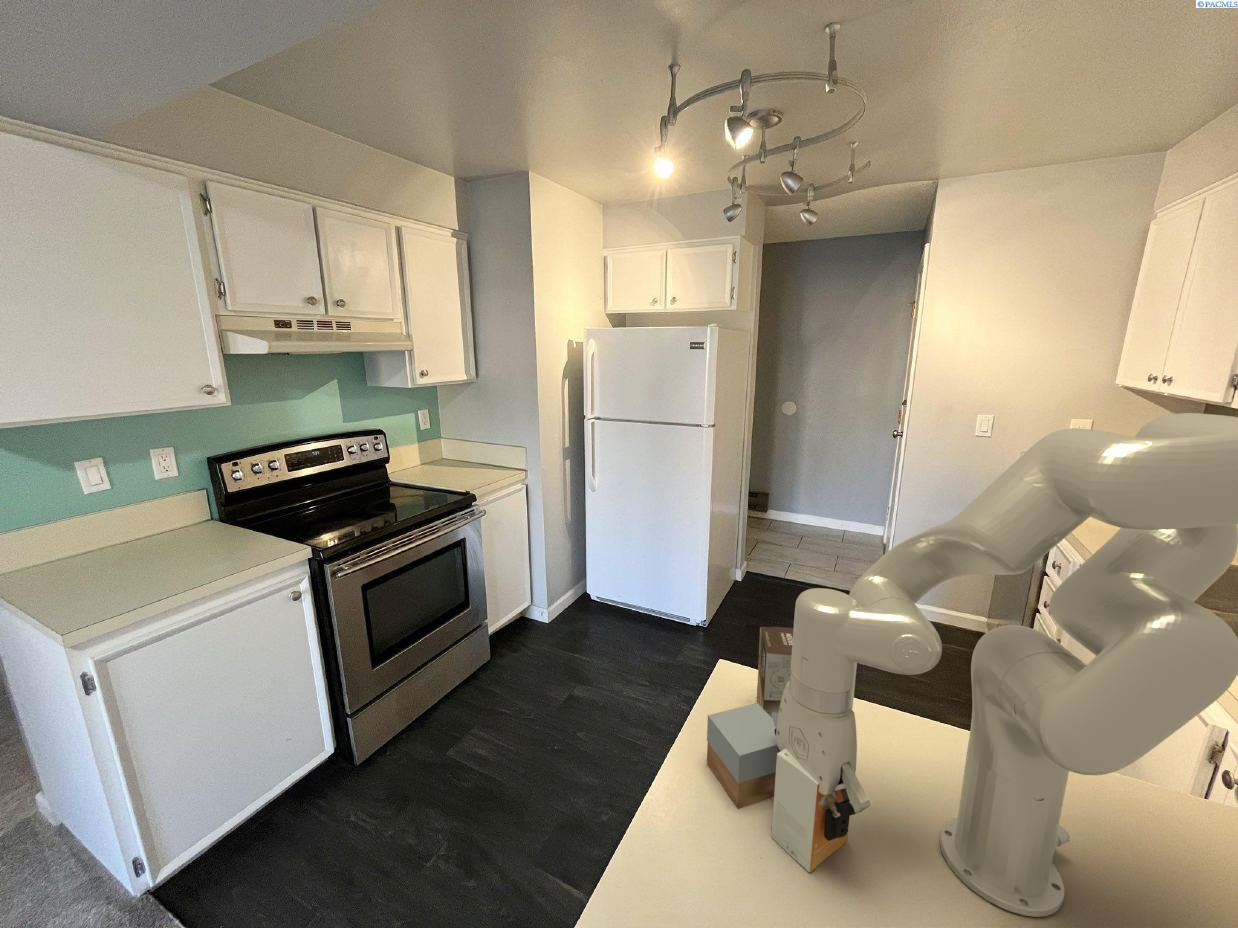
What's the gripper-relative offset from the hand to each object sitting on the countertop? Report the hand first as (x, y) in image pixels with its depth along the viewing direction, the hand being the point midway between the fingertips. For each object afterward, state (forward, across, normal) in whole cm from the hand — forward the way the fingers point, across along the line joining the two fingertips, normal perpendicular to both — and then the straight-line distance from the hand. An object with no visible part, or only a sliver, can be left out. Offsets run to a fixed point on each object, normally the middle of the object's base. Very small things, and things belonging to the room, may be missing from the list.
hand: (810, 805), depth 68 cm
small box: (+6, 0, 0) cm, 6 cm away
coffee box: (+6, -21, +10) cm, 24 cm away
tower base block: (+6, -12, -2) cm, 13 cm away
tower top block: (+1, -12, -2) cm, 12 cm away
